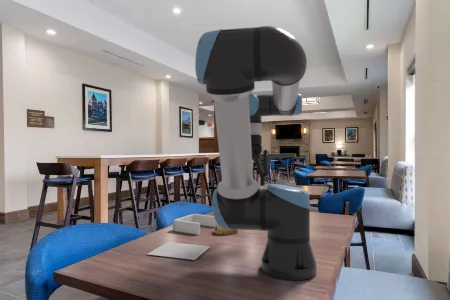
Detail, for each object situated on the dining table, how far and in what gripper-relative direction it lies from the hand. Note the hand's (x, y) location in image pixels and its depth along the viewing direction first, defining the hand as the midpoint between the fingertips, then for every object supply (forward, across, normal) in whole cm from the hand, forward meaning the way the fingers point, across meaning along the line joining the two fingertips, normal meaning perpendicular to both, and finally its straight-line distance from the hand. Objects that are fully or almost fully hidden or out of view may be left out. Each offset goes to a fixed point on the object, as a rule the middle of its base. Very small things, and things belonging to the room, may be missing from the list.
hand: (251, 193), depth 114 cm
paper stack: (+18, +11, +22) cm, 30 cm away
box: (+17, +26, 0) cm, 31 cm away
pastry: (+17, +12, 0) cm, 21 cm away
